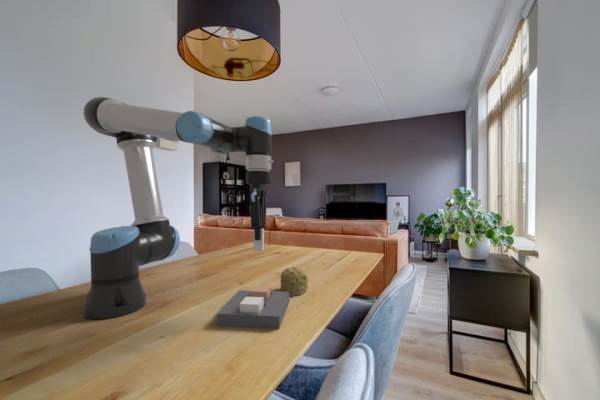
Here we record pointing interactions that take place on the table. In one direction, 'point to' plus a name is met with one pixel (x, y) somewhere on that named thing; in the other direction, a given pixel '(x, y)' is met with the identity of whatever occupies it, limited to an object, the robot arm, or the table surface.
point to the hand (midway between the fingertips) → (258, 250)
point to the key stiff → (261, 292)
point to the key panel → (266, 319)
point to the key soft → (252, 305)
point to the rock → (294, 281)
